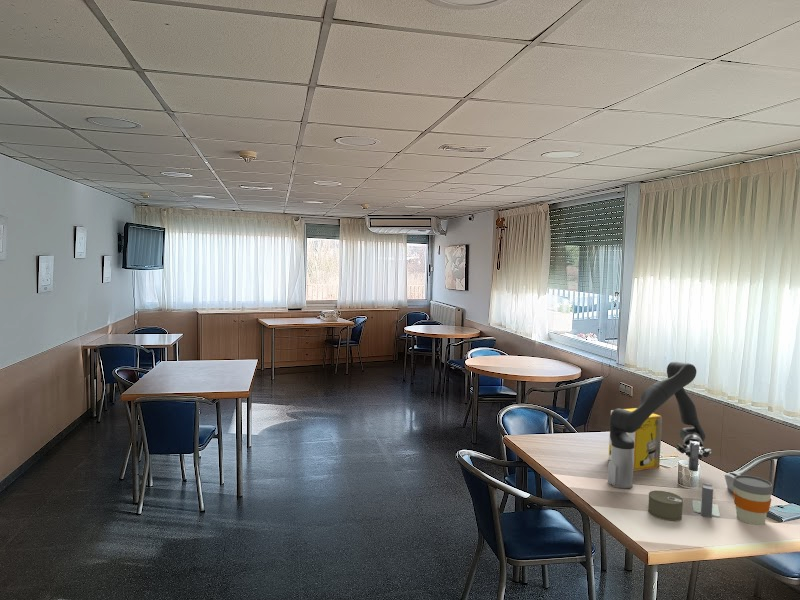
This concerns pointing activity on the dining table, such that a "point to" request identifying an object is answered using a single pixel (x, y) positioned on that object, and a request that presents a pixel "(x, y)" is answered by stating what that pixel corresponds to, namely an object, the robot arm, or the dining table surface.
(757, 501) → the reusable coffee cup
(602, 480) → the dining table surface
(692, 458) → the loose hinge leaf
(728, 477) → the hinge
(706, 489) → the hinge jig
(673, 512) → the can
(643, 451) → the packaging box
